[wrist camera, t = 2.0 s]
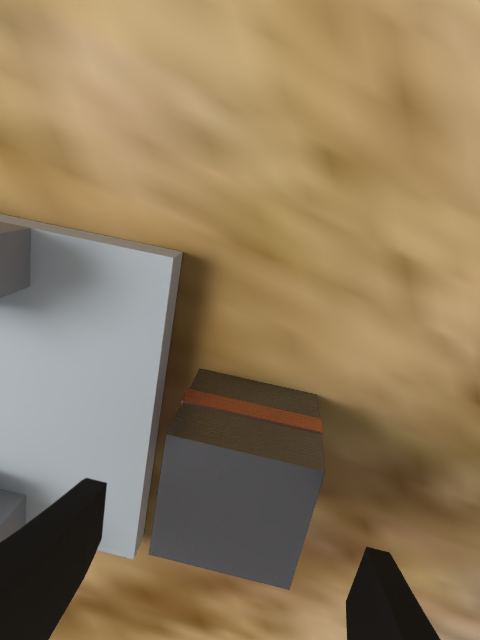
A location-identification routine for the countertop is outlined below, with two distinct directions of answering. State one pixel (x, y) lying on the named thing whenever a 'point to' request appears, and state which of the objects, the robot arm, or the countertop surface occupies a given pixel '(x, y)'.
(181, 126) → the countertop surface
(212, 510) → the block
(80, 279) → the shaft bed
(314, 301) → the countertop surface
